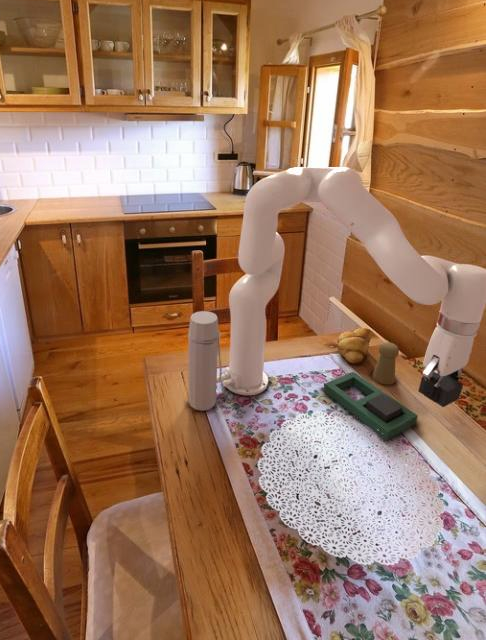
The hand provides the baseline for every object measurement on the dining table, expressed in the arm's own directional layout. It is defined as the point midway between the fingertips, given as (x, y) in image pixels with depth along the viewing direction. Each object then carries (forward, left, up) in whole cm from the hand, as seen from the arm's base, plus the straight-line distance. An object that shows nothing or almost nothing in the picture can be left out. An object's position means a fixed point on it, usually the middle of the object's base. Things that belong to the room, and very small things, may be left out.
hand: (438, 392), depth 91 cm
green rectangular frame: (-4, +15, -13) cm, 20 cm away
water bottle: (-40, +37, -13) cm, 56 cm away
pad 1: (-4, +10, -13) cm, 17 cm away
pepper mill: (+10, +21, -13) cm, 27 cm away
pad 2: (0, 0, -1) cm, 1 cm away
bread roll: (+11, +34, -13) cm, 38 cm away
